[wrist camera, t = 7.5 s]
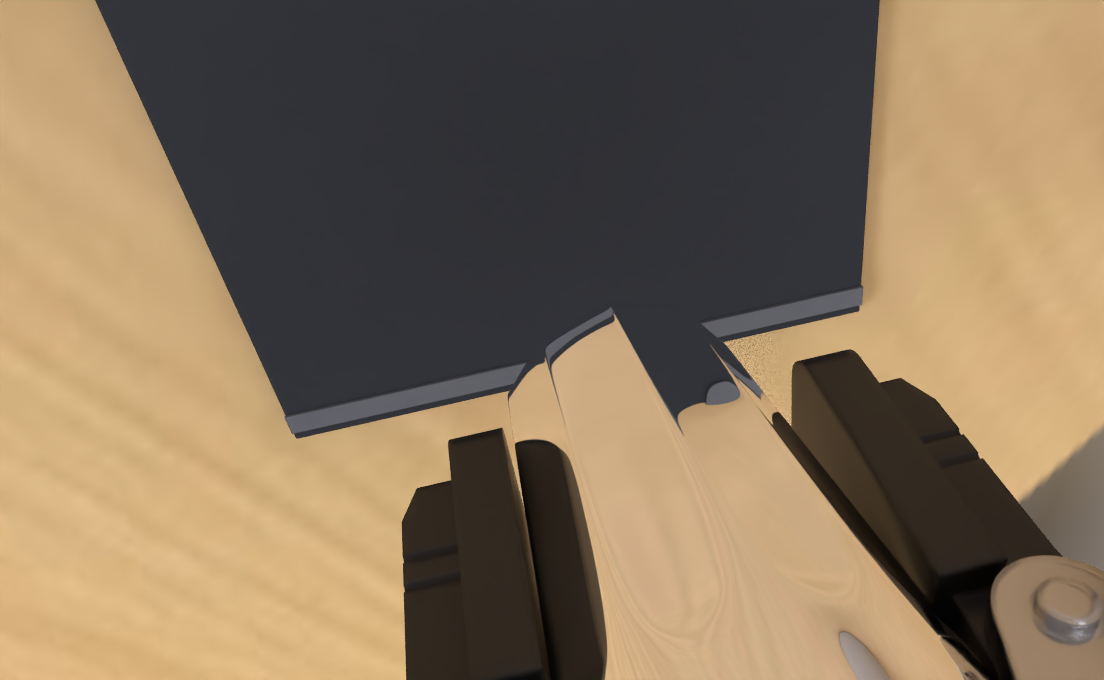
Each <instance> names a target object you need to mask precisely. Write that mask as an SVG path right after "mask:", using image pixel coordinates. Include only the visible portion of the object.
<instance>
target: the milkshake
mask: <svg viewBox="0 0 1104 680" xmlns="http://www.w3.org/2000/svg"><path fill="white" fill-rule="evenodd" d="M508 404H509V411H510V418H511V425H512V431H513V438H514V444H515V450H516V457H517V463H518V470H519V476H520V483H521V489H522V496H523V502H524V509H525V515H526V522H527V528H528V535H529V541H530V548H531V554H532V561H533V567H534V574H535V580H536V587H537V593H538V600H539V606H540V613H541V620H542V626H543V633H544V640H545V646H546V653H547V660H548V667H549V674H550V680H997V678H996V677H995V676H994V675H993V674H992V673H991V671H990V670H989V669H988V668H987V667H986V666H985V664H984V663H983V662H982V661H981V660H980V659H979V657H978V656H977V655H976V654H975V653H974V652H973V650H972V649H971V648H970V647H969V646H968V645H967V643H966V642H965V641H964V640H963V639H962V638H961V636H960V635H959V634H958V633H957V632H956V631H955V630H954V628H953V627H952V626H951V625H950V624H949V623H948V622H947V620H946V619H945V618H944V617H943V616H942V615H941V613H940V612H939V611H938V610H937V609H936V607H935V606H934V605H933V604H932V603H931V602H930V600H929V599H928V598H927V597H926V596H925V594H924V593H923V592H922V591H921V589H920V588H919V587H918V586H917V584H916V583H915V582H914V581H913V579H912V578H911V577H910V576H909V574H908V573H907V572H906V571H905V569H904V568H903V567H902V566H901V564H900V563H899V562H898V561H897V559H896V558H895V557H894V556H893V554H892V553H891V552H890V551H889V549H888V548H887V547H886V546H885V544H884V543H883V542H882V541H881V539H880V538H879V537H878V536H877V534H876V533H875V532H874V531H873V529H872V528H871V527H870V525H869V524H868V523H867V522H866V520H865V519H864V518H863V517H862V515H861V514H860V513H859V512H858V510H857V509H856V508H855V507H854V505H853V504H852V503H851V502H850V500H849V499H848V498H847V497H846V495H845V494H844V493H843V492H842V490H841V489H840V488H839V486H838V485H837V484H836V483H835V481H834V480H833V479H832V478H831V476H830V475H829V474H828V473H827V471H826V470H825V469H824V468H823V466H822V465H821V464H820V463H819V461H818V460H817V459H816V458H815V456H814V455H813V454H812V453H811V451H810V450H809V449H808V447H807V446H806V445H805V444H804V442H803V441H802V440H801V439H800V437H799V436H798V435H797V434H796V432H795V431H794V430H793V429H792V427H791V426H790V425H789V424H788V422H787V421H786V420H785V419H784V417H783V416H782V415H781V414H780V412H779V411H778V410H777V408H776V407H775V406H774V405H773V403H772V402H771V401H770V400H769V398H768V397H767V396H766V395H765V393H764V392H763V391H762V390H761V388H760V387H759V386H758V385H757V383H756V382H755V381H754V380H753V378H752V377H751V376H750V375H749V373H748V372H747V371H746V369H745V368H744V367H743V366H742V364H741V363H740V362H739V361H738V359H737V358H736V357H735V356H734V354H733V353H732V352H731V351H730V350H729V348H728V347H727V346H726V345H725V344H724V343H723V342H722V341H721V340H720V339H718V338H717V337H716V336H715V335H714V334H713V333H711V332H710V331H709V330H708V329H707V328H706V327H704V326H703V325H702V324H701V323H700V322H699V321H697V320H696V319H695V318H694V317H693V316H692V315H691V314H689V313H688V312H687V311H686V310H685V309H684V308H683V307H681V306H680V305H679V304H666V303H635V302H610V301H608V302H605V303H604V304H602V305H600V306H598V307H596V308H594V309H593V310H591V311H589V312H587V313H585V314H583V315H581V316H580V317H578V318H576V319H574V320H572V321H570V322H568V323H566V324H564V325H563V326H561V327H559V328H557V329H555V330H553V331H551V332H549V333H547V334H545V335H544V336H542V337H541V338H540V339H539V341H538V343H537V345H536V347H535V348H534V350H533V352H532V354H531V355H530V357H529V359H528V360H527V362H526V364H525V366H524V367H523V369H522V371H521V373H520V374H519V376H518V378H517V379H516V381H515V383H514V385H513V386H512V388H511V390H510V391H509V393H508Z"/></svg>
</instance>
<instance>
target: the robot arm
mask: <svg viewBox="0 0 1104 680" xmlns="http://www.w3.org/2000/svg"><path fill="white" fill-rule="evenodd" d="M792 429H793V430H794V431H795V432H796V434H797V435H798V436H799V437H800V439H801V440H802V441H803V442H804V444H805V445H806V446H807V447H808V449H809V450H810V451H811V453H812V454H813V455H814V456H815V458H816V459H817V460H818V461H819V463H820V464H821V465H822V466H823V468H824V469H825V470H826V471H827V473H828V474H829V475H830V476H831V478H832V479H833V480H834V481H835V483H836V484H837V485H838V486H839V488H840V489H841V490H842V492H843V493H844V494H845V495H846V497H847V498H848V499H849V500H850V502H851V503H852V504H853V505H854V507H855V508H856V509H857V510H858V512H859V513H860V514H861V515H862V517H863V518H864V519H865V520H866V522H867V523H868V524H869V525H870V527H871V528H872V529H873V531H874V532H875V533H876V534H877V536H878V537H879V538H880V539H881V541H882V542H883V543H884V544H885V546H886V547H887V548H888V549H889V551H890V552H891V553H892V554H893V556H894V557H895V558H896V559H897V561H898V562H899V563H900V564H901V566H902V567H903V568H904V569H905V571H906V572H907V573H908V574H909V576H910V577H911V578H912V579H913V581H914V582H915V583H916V584H917V586H918V587H919V588H920V589H921V591H922V592H923V593H924V594H925V596H926V597H927V598H928V599H929V600H930V602H931V603H932V604H933V605H934V606H935V607H936V609H937V610H938V611H939V612H940V613H941V615H942V616H943V617H944V618H945V619H946V620H947V622H948V623H949V624H950V625H951V626H952V627H953V628H954V630H955V631H956V632H957V633H958V634H959V635H960V636H961V638H962V639H963V640H964V641H965V642H966V643H967V645H968V646H969V647H970V648H971V649H972V650H973V652H974V653H975V654H976V655H977V656H978V657H979V659H980V660H981V661H982V662H983V663H984V664H985V666H986V667H987V668H988V669H989V670H990V671H991V673H992V674H993V675H994V676H995V677H996V678H997V680H1104V572H1103V571H1101V570H1099V569H1097V568H1096V567H1094V566H1091V565H1089V564H1086V563H1084V562H1081V561H1078V560H1074V559H1070V558H1066V557H1063V556H1062V555H1061V554H1060V553H1059V552H1058V551H1057V550H1056V549H1055V548H1054V547H1053V545H1052V544H1051V543H1050V542H1049V540H1048V539H1047V538H1046V537H1045V535H1044V534H1043V533H1042V532H1041V530H1040V529H1039V528H1038V527H1037V525H1036V524H1035V523H1034V522H1033V520H1032V519H1031V518H1030V517H1029V515H1027V513H1026V512H1025V511H1024V509H1023V508H1022V507H1021V506H1020V504H1019V503H1018V502H1017V500H1016V499H1015V498H1014V497H1013V495H1012V494H1011V493H1010V492H1009V490H1008V489H1007V488H1006V487H1005V485H1004V484H1003V483H1002V482H1001V480H1000V479H999V478H998V477H997V475H996V474H995V473H994V472H993V470H992V469H991V468H990V467H989V465H988V464H987V463H986V462H985V460H984V459H983V458H982V459H980V458H979V456H978V452H977V450H976V449H975V448H974V447H973V445H972V444H971V443H970V442H969V440H968V439H967V438H966V437H965V435H964V434H963V435H961V434H960V432H959V428H958V427H957V425H956V424H955V423H954V422H953V420H952V419H951V418H950V417H949V415H948V414H947V413H946V412H945V410H944V409H943V408H942V407H941V405H940V404H939V403H938V402H937V400H936V399H934V398H932V397H931V396H929V395H928V394H926V393H924V392H923V391H921V390H919V389H918V388H916V387H914V386H913V385H911V384H910V383H908V382H906V381H905V380H903V379H901V378H898V379H894V380H890V381H885V382H881V383H879V382H878V381H877V379H876V378H875V377H874V375H873V374H872V372H871V371H870V370H869V368H868V367H867V366H866V364H865V363H864V362H863V360H862V359H861V358H860V356H859V355H858V354H857V353H856V352H855V351H853V350H845V351H840V352H836V353H831V354H827V355H823V356H818V357H814V358H809V359H805V360H801V361H797V362H795V363H794V365H793V369H792ZM448 449H449V460H450V470H451V481H446V482H442V483H437V484H433V485H429V486H424V487H420V488H417V489H416V491H415V494H414V496H413V498H412V500H411V503H410V505H409V507H408V509H407V512H406V514H405V516H404V518H403V521H402V544H403V559H404V563H403V579H404V588H405V592H404V614H405V649H406V680H550V674H549V667H548V660H547V653H546V646H545V640H544V633H543V626H542V620H541V613H540V606H539V600H538V593H537V587H536V580H535V574H534V567H533V561H532V554H531V548H530V541H529V535H528V528H527V522H526V515H525V511H524V507H523V503H522V499H521V495H520V491H519V488H518V484H517V480H516V476H515V472H514V468H513V465H512V461H511V457H510V453H509V449H508V446H507V442H506V438H505V434H504V431H503V428H499V429H495V430H490V431H486V432H482V433H477V434H473V435H468V436H464V437H460V438H455V439H451V440H449V442H448Z"/></svg>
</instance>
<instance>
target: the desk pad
mask: <svg viewBox="0 0 1104 680" xmlns="http://www.w3.org/2000/svg"><path fill="white" fill-rule="evenodd" d="M95 1H96V3H97V5H98V7H99V9H100V12H101V14H102V16H103V18H104V20H105V22H106V25H107V27H108V29H109V31H110V33H111V36H112V38H113V40H114V42H115V44H116V46H117V49H118V51H119V53H120V55H121V57H122V60H123V62H124V64H125V66H126V68H127V70H128V73H129V75H130V77H131V79H132V81H133V84H134V86H135V88H136V90H137V92H138V94H139V97H140V99H141V101H142V103H143V105H144V108H145V110H146V112H147V114H148V116H149V118H150V121H151V123H152V125H153V127H154V129H155V132H156V134H157V136H158V138H159V140H160V142H161V145H162V147H163V149H164V151H165V153H166V156H167V158H168V160H169V162H170V164H171V166H172V169H173V171H174V173H175V175H176V177H177V180H178V182H179V184H180V186H181V188H182V190H183V193H184V195H185V197H186V199H187V201H188V204H189V206H190V208H191V210H192V212H193V214H194V217H195V219H196V221H197V223H198V225H199V227H200V230H201V232H202V234H203V236H204V238H205V241H206V243H207V245H208V247H209V249H210V251H211V254H212V256H213V258H214V260H215V262H216V265H217V267H218V269H219V271H220V273H221V275H222V278H223V280H224V282H225V284H226V286H227V289H228V291H229V293H230V295H231V297H232V299H233V302H234V304H235V306H236V308H237V310H238V313H239V315H240V317H241V319H242V321H243V323H244V326H245V328H246V330H247V332H248V334H249V337H250V339H251V341H252V343H253V345H254V347H255V350H256V352H257V354H258V356H259V358H260V361H261V363H262V365H263V367H264V369H265V371H266V374H267V376H268V378H269V380H270V382H271V385H272V387H273V389H274V391H275V393H276V395H277V398H278V400H279V402H280V404H281V406H282V409H283V411H284V413H285V415H286V416H285V419H286V422H287V424H288V426H289V428H290V430H291V432H292V434H294V435H295V437H296V438H302V437H307V436H311V435H315V434H320V433H324V432H329V431H333V430H337V429H342V428H346V427H351V426H355V425H359V424H364V423H368V422H373V421H377V420H381V419H386V418H390V417H395V416H399V415H403V414H408V413H412V412H417V411H421V410H426V409H430V408H434V407H439V406H443V405H448V404H452V403H456V402H461V401H465V400H470V399H474V398H478V397H483V396H487V395H492V394H496V393H500V392H505V391H509V390H511V388H512V386H513V385H514V383H515V381H516V379H517V378H518V376H519V374H520V373H521V371H522V369H523V367H524V366H525V364H526V362H527V360H528V359H529V357H530V355H531V354H532V352H533V350H534V348H535V347H536V345H537V343H538V341H539V339H540V338H541V337H542V336H544V335H545V334H547V333H549V332H551V331H553V330H555V329H557V328H559V327H561V326H563V325H564V324H566V323H568V322H570V321H572V320H574V319H576V318H578V317H580V316H581V315H583V314H585V313H587V312H589V311H591V310H593V309H594V308H596V307H598V306H600V305H602V304H604V303H605V302H608V301H610V302H635V303H666V304H679V305H680V306H681V307H683V308H684V309H685V310H686V311H687V312H688V313H689V314H691V315H692V316H693V317H694V318H695V319H696V320H697V321H699V322H700V323H701V324H702V325H703V326H704V327H706V328H707V329H708V330H709V331H710V332H711V333H713V334H714V335H715V336H716V337H717V338H718V339H720V340H721V341H722V342H725V341H730V340H734V339H738V338H743V337H747V336H752V335H756V334H760V333H765V332H769V331H774V330H778V329H783V328H787V327H791V326H796V325H800V324H805V323H809V322H813V321H818V320H822V319H827V318H831V317H835V316H840V315H844V314H849V313H853V312H857V311H859V307H860V305H862V296H863V286H862V285H861V276H862V261H863V246H864V230H865V215H866V200H867V184H868V169H869V154H870V139H871V123H872V108H873V93H874V77H875V62H876V47H877V32H878V16H879V1H880V0H95Z"/></svg>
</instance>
